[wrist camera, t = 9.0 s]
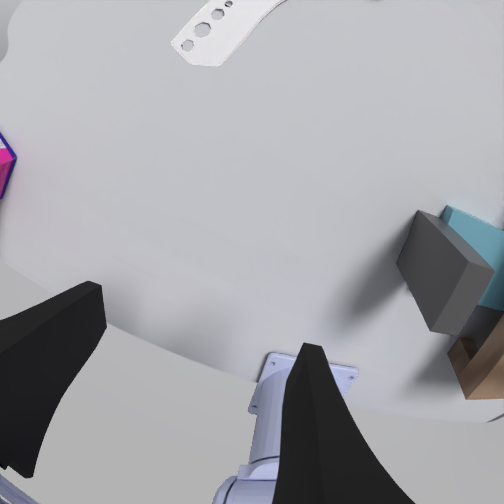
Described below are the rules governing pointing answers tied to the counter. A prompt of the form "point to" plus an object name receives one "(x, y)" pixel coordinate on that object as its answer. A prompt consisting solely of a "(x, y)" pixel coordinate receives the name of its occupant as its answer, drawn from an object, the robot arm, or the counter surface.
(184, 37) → the knife
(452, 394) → the counter surface
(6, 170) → the supplement box
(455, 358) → the low wooden stool
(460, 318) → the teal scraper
